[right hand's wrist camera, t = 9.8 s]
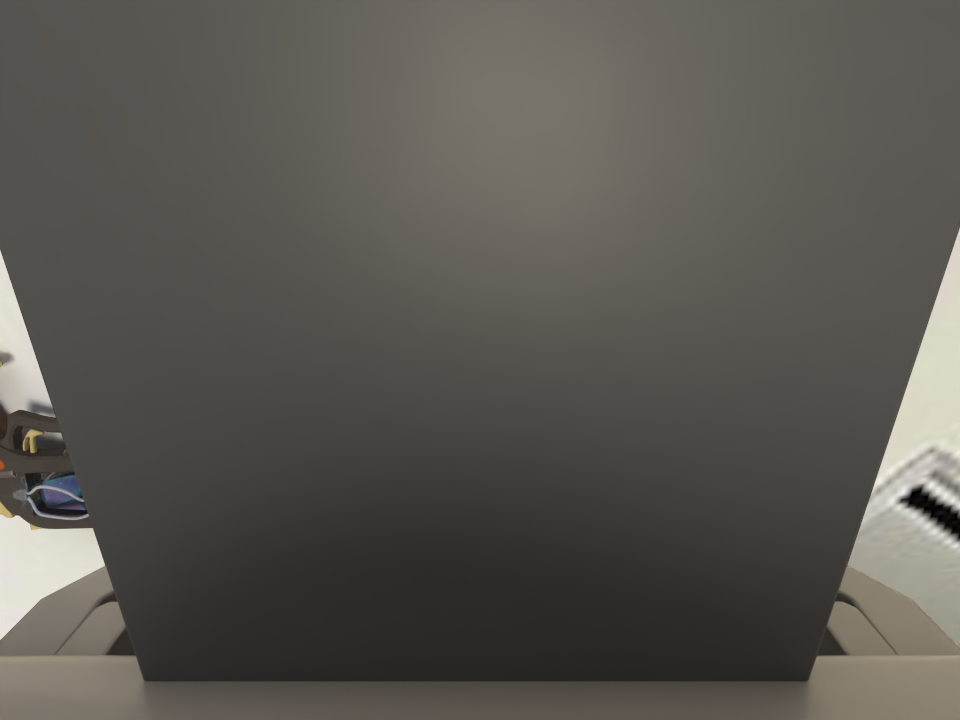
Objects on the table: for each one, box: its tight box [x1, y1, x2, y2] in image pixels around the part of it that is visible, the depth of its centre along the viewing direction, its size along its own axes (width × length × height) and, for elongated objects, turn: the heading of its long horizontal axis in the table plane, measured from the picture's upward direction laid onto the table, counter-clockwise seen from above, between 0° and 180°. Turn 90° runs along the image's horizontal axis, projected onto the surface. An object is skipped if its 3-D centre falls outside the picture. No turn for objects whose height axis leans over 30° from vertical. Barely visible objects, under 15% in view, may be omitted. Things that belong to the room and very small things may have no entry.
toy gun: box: [0, 362, 93, 530], centre depth 28 cm, size 3×19×10 cm
